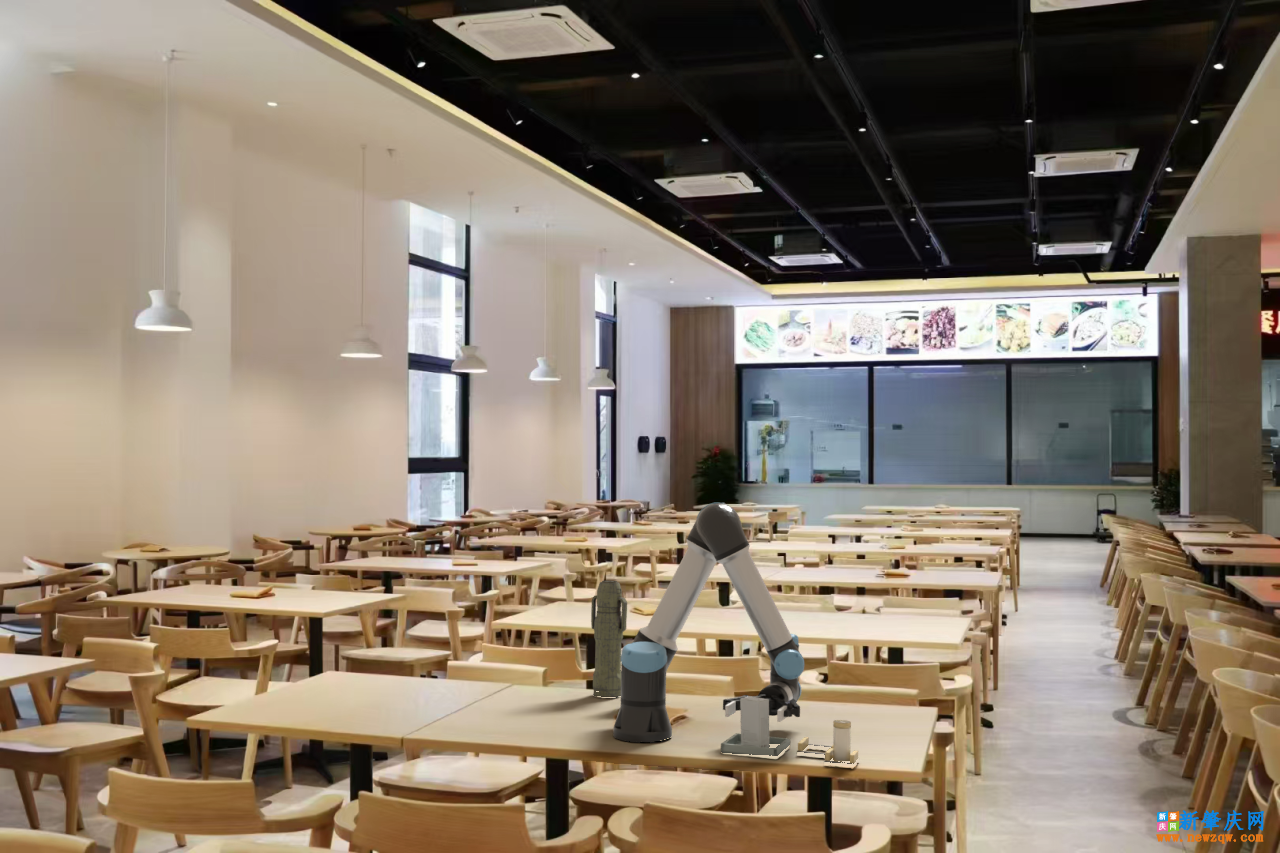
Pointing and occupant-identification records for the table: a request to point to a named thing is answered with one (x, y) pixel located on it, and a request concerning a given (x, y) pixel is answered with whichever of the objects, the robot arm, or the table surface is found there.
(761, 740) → the skincare box
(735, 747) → the tray
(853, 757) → the cream flat frame
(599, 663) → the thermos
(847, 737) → the fuse
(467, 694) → the table surface
